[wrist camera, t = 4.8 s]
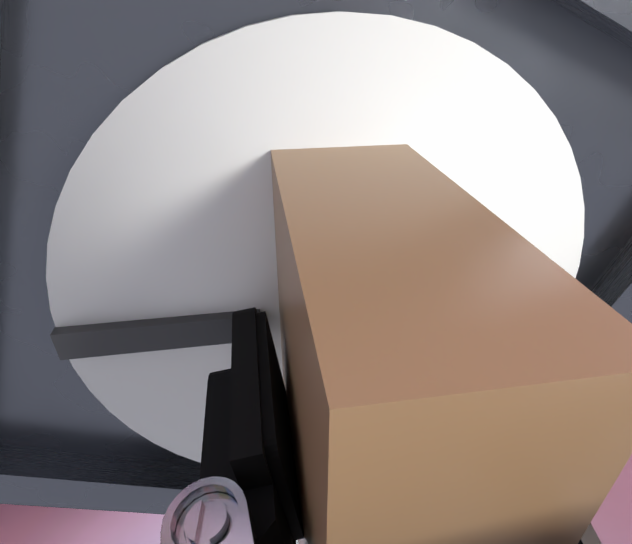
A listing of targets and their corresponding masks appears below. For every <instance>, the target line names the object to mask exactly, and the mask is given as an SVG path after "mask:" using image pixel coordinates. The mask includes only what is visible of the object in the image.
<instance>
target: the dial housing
mask: <svg viewBox="0 0 632 544" xmlns="http://www.w3.org/2000/svg"><path fill="white" fill-rule="evenodd" d="M333 11H339V12H356V13H369V14H382V15H392V16H396V17H401V18H405V19H409V20H413V21H417V22H421V23H425V24H429V25H434V26H437V27H439V28H441V29H444V30H446V31H448V32H451V33H453V34H455V35H458V36H460V37H462V38H465V39H467V40H469V41H472V42H474V43H476V44H477V45H479V46H480V47H482V48H483V49H485V50H486V51H488V52H490V53H491V54H493V55H494V56H496V57H497V58H499V59H500V60H502V61H503V62H505V63H507V64H508V65H509V66H510V67H511V68H512V69H513V70H514V71H516V72H517V73H518V74H519V75H520V76H521V77H522V78H523V79H524V80H525V81H526V82H527V83H528V84H530V85H531V86H532V87H533V88H534V89H535V90H536V92H537V93H538V94H539V96H540V97H541V98H542V100H543V101H544V102H545V104H546V105H547V106H548V108H549V109H550V110H551V112H552V113H553V114H554V116H555V117H556V118H557V120H558V122H559V124H560V126H561V128H562V130H563V132H564V134H565V136H566V138H567V140H568V142H569V144H570V146H571V148H572V152H573V155H574V158H575V161H576V165H577V168H578V171H579V174H580V178H581V185H582V193H583V200H584V207H585V210H584V240H583V246H582V252H581V259H580V265H579V268H578V272H577V275H576V278H575V279H577V280H578V281H579V282H580V283H582V284H583V285H584V286H585V287H587V288H588V289H589V290H590V291H592V292H593V293H594V294H595V295H597V296H598V297H599V298H600V299H602V300H603V301H604V302H605V303H607V304H608V305H609V306H610V307H612V308H613V309H614V310H615V311H617V312H618V313H619V314H620V315H622V316H623V317H624V318H625V319H627V320H628V321H629V322H630V323H632V0H0V504H14V505H30V506H45V507H60V508H76V509H91V510H107V511H122V512H137V513H153V514H165V513H166V511H167V509H168V507H169V505H170V504H171V502H172V501H173V500H174V499H175V497H176V496H177V495H178V494H179V493H180V492H181V491H182V490H184V489H185V488H186V487H187V486H188V485H190V484H192V483H194V482H196V481H198V480H199V478H200V466H201V463H200V462H197V461H194V460H191V459H188V458H186V457H183V456H180V455H177V454H175V453H173V452H171V451H169V450H167V449H165V448H163V447H161V446H159V445H156V444H154V443H153V442H151V441H149V440H148V439H146V438H145V437H143V436H141V435H140V434H138V433H137V432H135V431H133V430H132V429H130V428H129V427H128V426H127V425H125V424H124V423H123V422H122V421H120V420H119V419H118V418H117V417H116V416H114V415H113V414H112V413H111V412H109V411H108V410H107V409H106V408H105V406H104V405H103V404H102V403H101V402H100V401H99V400H98V399H97V398H96V397H95V396H94V395H93V394H92V393H91V392H90V391H89V389H88V388H87V386H86V385H85V383H84V382H83V381H82V379H81V378H80V376H79V375H78V374H77V372H76V371H75V369H74V368H73V366H72V364H71V362H70V360H69V359H68V360H60V359H59V356H58V354H57V351H56V349H55V347H54V344H53V342H52V339H51V337H50V334H51V332H52V331H53V329H54V327H55V324H54V321H53V318H52V314H51V311H50V305H49V297H48V290H47V282H46V264H47V242H48V238H49V233H50V229H51V224H52V219H53V215H54V210H55V206H56V204H57V201H58V199H59V196H60V194H61V192H62V189H63V187H64V184H65V182H66V179H67V177H68V174H69V172H70V170H71V168H72V167H73V165H74V163H75V162H76V160H77V158H78V157H79V155H80V154H81V152H82V150H83V149H84V147H85V146H86V144H87V142H88V141H89V139H90V138H91V136H92V134H93V133H94V132H95V131H96V130H97V129H98V128H99V126H100V125H101V124H102V123H103V122H104V121H105V120H106V118H107V117H108V116H109V115H110V114H111V113H112V112H113V110H114V109H115V108H116V107H117V106H118V105H119V104H120V102H121V101H122V100H123V99H125V98H126V97H127V96H128V95H129V94H131V93H132V92H133V91H134V90H136V89H137V88H138V87H139V86H140V85H142V84H143V83H144V82H145V81H146V80H148V79H149V78H150V77H151V76H152V75H154V74H155V73H156V72H157V71H158V70H160V69H161V68H162V67H164V66H165V65H166V64H168V63H170V62H172V61H173V60H175V59H177V58H178V57H180V56H182V55H183V54H185V53H187V52H188V51H190V50H192V49H193V48H195V47H197V46H198V45H200V44H202V43H203V42H206V41H208V40H211V39H213V38H216V37H218V36H220V35H223V34H225V33H228V32H230V31H233V30H235V29H238V28H240V27H243V26H245V25H249V24H253V23H257V22H262V21H266V20H270V19H274V18H279V17H283V16H287V15H295V14H307V13H320V12H333Z"/></svg>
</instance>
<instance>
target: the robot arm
mask: <svg viewBox="0 0 632 544" xmlns="http://www.w3.org/2000/svg"><path fill="white" fill-rule="evenodd" d="M303 538H304V532H303V524H302V516H301V508H300V500H299V492H298V484H297V476H296V468H295V460H294V452H293V444H292V436H291V427H290V419H289V411H288V403H287V395H286V389H285V385H284V381H283V377H282V373H281V369H280V366H279V362H278V358H277V354H276V350H275V346H274V342H273V338H272V334H271V330H270V326H269V322H268V319H267V315H266V312H265V311H264V312H259V313H257V309H256V307H253V308H248V309H244V310H239V311H234V312H233V313H232V349H231V368H230V369H226V370H221V371H216V372H212V373H210V374H209V376H208V382H207V394H206V406H205V418H204V430H203V442H202V454H201V466H200V478H199V480H198V481H196V482H194V483H192V484H190V485H188V486H187V487H186V488H185V489H184V490H182V491H181V492H180V493H179V494H178V495H177V496H176V497H175V499H174V500H173V501H172V502H171V504H170V505H169V507H168V509H167V511H166V513H165V516H164V518H163V521H162V527H161V542H160V544H296V541H295V540H299V539H303ZM578 544H632V455H631V456H630V458H629V460H628V461H627V463H626V465H625V466H624V468H623V469H622V471H621V473H620V474H619V476H618V478H617V479H616V481H615V483H614V484H613V486H612V488H611V489H610V491H609V493H608V494H607V496H606V498H605V499H604V501H603V503H602V504H601V506H600V508H599V509H598V511H597V513H596V514H595V516H594V518H593V519H592V521H591V523H590V524H589V526H588V528H587V529H586V531H585V533H584V534H583V536H582V538H581V539H580V541H579V543H578Z"/></svg>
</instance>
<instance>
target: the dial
mask: <svg viewBox="0 0 632 544" xmlns="http://www.w3.org/2000/svg"><path fill="white" fill-rule="evenodd" d="M584 210H585V207H584V200H583V193H582V185H581V178H580V174H579V171H578V168H577V165H576V161H575V158H574V155H573V152H572V148H571V146H570V144H569V142H568V140H567V138H566V136H565V134H564V132H563V130H562V128H561V126H560V124H559V122H558V120H557V118H556V117H555V116H554V114H553V113H552V112H551V110H550V109H549V108H548V106H547V105H546V104H545V102H544V101H543V100H542V98H541V97H540V96H539V94H538V93H537V92H536V90H535V89H534V88H533V87H532V86H531V85H530V84H528V83H527V82H526V81H525V80H524V79H523V78H522V77H521V76H520V75H519V74H518V73H517V72H516V71H514V70H513V69H512V68H511V67H510V66H509V65H508V64H507V63H505V62H503V61H502V60H500V59H499V58H497V57H496V56H494V55H493V54H491V53H490V52H488V51H486V50H485V49H483V48H482V47H480V46H479V45H477V44H476V43H474V42H472V41H469V40H467V39H465V38H462V37H460V36H458V35H455V34H453V33H451V32H448V31H446V30H444V29H441V28H439V27H437V26H434V25H429V24H425V23H421V22H417V21H413V20H409V19H405V18H401V17H396V16H392V15H382V14H369V13H356V12H339V11H333V12H320V13H307V14H295V15H287V16H283V17H279V18H274V19H270V20H266V21H262V22H257V23H253V24H249V25H245V26H243V27H240V28H238V29H235V30H233V31H230V32H228V33H225V34H223V35H220V36H218V37H216V38H213V39H211V40H208V41H206V42H203V43H202V44H200V45H198V46H197V47H195V48H193V49H192V50H190V51H188V52H187V53H185V54H183V55H182V56H180V57H178V58H177V59H175V60H173V61H172V62H170V63H168V64H166V65H165V66H164V67H162V68H161V69H160V70H158V71H157V72H156V73H155V74H154V75H152V76H151V77H150V78H149V79H148V80H146V81H145V82H144V83H143V84H142V85H140V86H139V87H138V88H137V89H136V90H134V91H133V92H132V93H131V94H129V95H128V96H127V97H126V98H125V99H123V100H122V101H121V102H120V104H119V105H118V106H117V107H116V108H115V109H114V110H113V112H112V113H111V114H110V115H109V116H108V117H107V118H106V120H105V121H104V122H103V123H102V124H101V125H100V126H99V128H98V129H97V130H96V131H95V132H94V133H93V134H92V136H91V138H90V139H89V141H88V142H87V144H86V146H85V147H84V149H83V150H82V152H81V154H80V155H79V157H78V158H77V160H76V162H75V163H74V165H73V167H72V168H71V170H70V172H69V174H68V177H67V179H66V182H65V184H64V187H63V189H62V192H61V194H60V196H59V199H58V201H57V204H56V206H55V210H54V215H53V219H52V224H51V229H50V233H49V238H48V242H47V264H46V282H47V290H48V297H49V305H50V311H51V314H52V318H53V321H54V324H55V327H54V329H53V331H52V332H51V334H50V337H51V339H52V342H53V344H54V347H55V349H56V351H57V354H58V356H59V359H60V360H68V359H69V360H70V362H71V364H72V366H73V368H74V369H75V371H76V372H77V374H78V375H79V376H80V378H81V379H82V381H83V382H84V383H85V385H86V386H87V388H88V389H89V391H90V392H91V393H92V394H93V395H94V396H95V397H96V398H97V399H98V400H99V401H100V402H101V403H102V404H103V405H104V406H105V408H106V409H107V410H108V411H109V412H111V413H112V414H113V415H114V416H116V417H117V418H118V419H119V420H120V421H122V422H123V423H124V424H125V425H127V426H128V427H129V428H130V429H132V430H133V431H135V432H137V433H138V434H140V435H141V436H143V437H145V438H146V439H148V440H149V441H151V442H153V443H154V444H156V445H159V446H161V447H163V448H165V449H167V450H169V451H171V452H173V453H175V454H177V455H180V456H183V457H186V458H188V459H191V460H194V461H197V462H200V463H201V454H202V442H203V430H204V418H205V406H206V394H207V382H208V376H209V374H210V373H212V372H216V371H221V370H226V369H230V368H231V349H232V313H233V312H234V311H239V310H244V309H248V308H253V307H256V309H257V313H259V312H264V311H265V312H266V315H267V319H268V322H269V326H270V330H271V334H272V338H273V342H274V346H275V350H276V354H277V358H278V362H279V366H280V369H281V373H282V377H283V381H284V385H285V389H286V395H287V403H288V411H289V419H290V427H291V436H292V444H293V452H294V460H295V468H296V476H297V484H298V492H299V500H300V508H301V516H302V524H303V532H304V538H303V539H299V540H298V542H299V544H578V543H579V541H580V539H581V538H582V536H583V534H584V533H585V531H586V529H587V528H588V526H589V524H590V523H591V521H592V519H593V518H594V516H595V514H596V513H597V511H598V509H599V508H600V506H601V504H602V503H603V501H604V499H605V498H606V496H607V494H608V493H609V491H610V489H611V488H612V486H613V484H614V483H615V481H616V479H617V478H618V476H619V474H620V473H621V471H622V469H623V468H624V466H625V465H626V463H627V461H628V460H629V458H630V456H631V455H632V323H630V322H629V321H628V320H627V319H625V318H624V317H623V316H622V315H620V314H619V313H618V312H617V311H615V310H614V309H613V308H612V307H610V306H609V305H608V304H607V303H605V302H604V301H603V300H602V299H600V298H599V297H598V296H597V295H595V294H594V293H593V292H592V291H590V290H589V289H588V288H587V287H585V286H584V285H583V284H582V283H580V282H579V281H578V280H577V279H575V278H576V275H577V272H578V268H579V265H580V259H581V252H582V246H583V240H584Z"/></svg>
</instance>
